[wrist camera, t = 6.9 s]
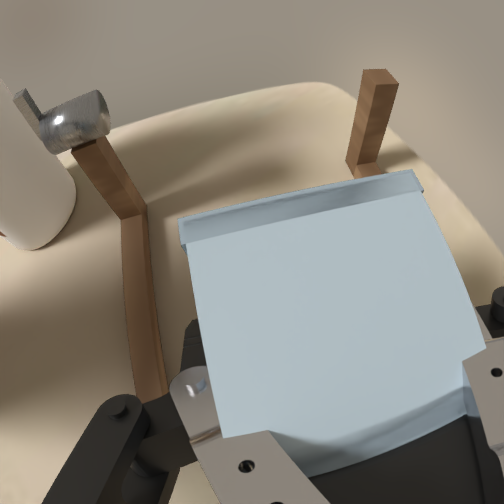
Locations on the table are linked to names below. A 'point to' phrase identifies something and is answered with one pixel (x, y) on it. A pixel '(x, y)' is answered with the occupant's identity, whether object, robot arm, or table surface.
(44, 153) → the milk bottle
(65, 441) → the table surface
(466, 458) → the robot arm
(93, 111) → the metal cylinder with tab
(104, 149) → the bay
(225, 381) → the lidded storage bin
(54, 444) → the table surface
